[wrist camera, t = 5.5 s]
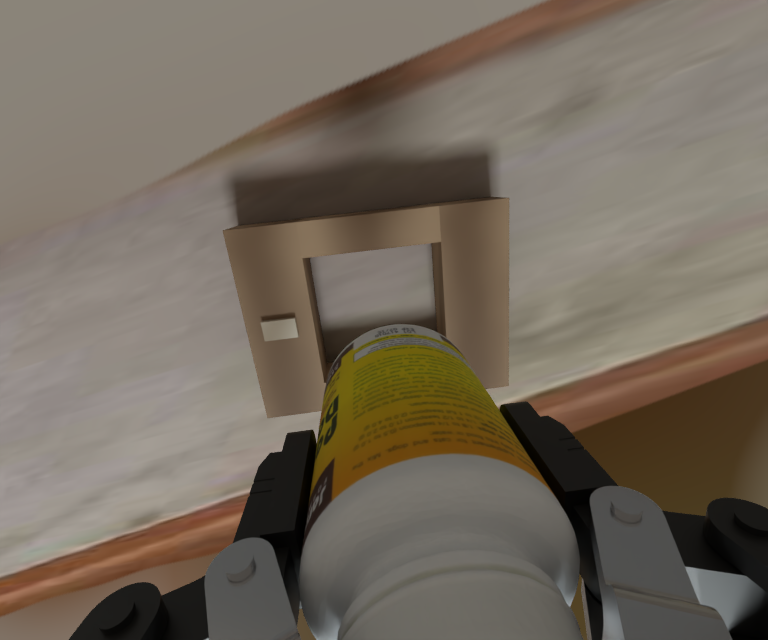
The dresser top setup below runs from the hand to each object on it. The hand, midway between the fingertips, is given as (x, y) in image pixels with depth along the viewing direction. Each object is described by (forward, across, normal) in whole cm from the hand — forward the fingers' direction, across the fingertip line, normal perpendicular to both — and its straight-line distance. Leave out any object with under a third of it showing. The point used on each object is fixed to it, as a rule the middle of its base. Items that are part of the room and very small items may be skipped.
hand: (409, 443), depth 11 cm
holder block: (+15, 0, 0) cm, 15 cm away
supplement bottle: (+4, 0, 0) cm, 4 cm away
